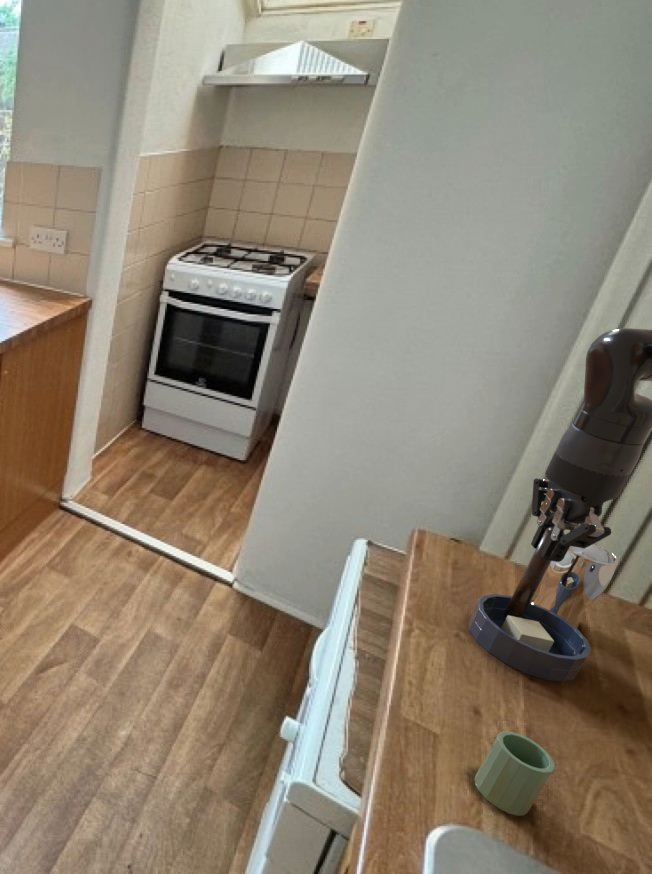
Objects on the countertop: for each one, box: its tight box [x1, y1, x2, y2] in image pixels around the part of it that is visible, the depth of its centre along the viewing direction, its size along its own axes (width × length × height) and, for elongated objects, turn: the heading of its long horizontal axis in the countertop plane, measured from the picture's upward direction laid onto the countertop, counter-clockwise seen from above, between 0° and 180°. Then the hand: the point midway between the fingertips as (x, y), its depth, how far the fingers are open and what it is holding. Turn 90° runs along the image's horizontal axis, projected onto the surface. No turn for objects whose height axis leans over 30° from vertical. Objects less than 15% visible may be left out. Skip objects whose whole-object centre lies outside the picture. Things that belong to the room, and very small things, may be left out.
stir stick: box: [504, 526, 565, 619], centre depth 95 cm, size 2×2×19 cm
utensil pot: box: [474, 730, 556, 817], centre depth 74 cm, size 5×5×9 cm
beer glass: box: [531, 542, 620, 630], centre depth 99 cm, size 7×7×15 cm
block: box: [501, 615, 554, 652], centre depth 95 cm, size 4×4×4 cm
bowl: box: [467, 593, 592, 683], centre depth 95 cm, size 13×13×6 cm
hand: (545, 553), depth 93 cm, fingers closed on stir stick, 2 cm apart
